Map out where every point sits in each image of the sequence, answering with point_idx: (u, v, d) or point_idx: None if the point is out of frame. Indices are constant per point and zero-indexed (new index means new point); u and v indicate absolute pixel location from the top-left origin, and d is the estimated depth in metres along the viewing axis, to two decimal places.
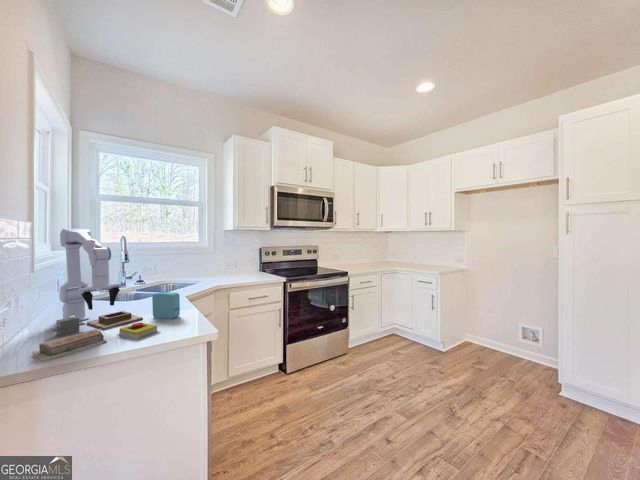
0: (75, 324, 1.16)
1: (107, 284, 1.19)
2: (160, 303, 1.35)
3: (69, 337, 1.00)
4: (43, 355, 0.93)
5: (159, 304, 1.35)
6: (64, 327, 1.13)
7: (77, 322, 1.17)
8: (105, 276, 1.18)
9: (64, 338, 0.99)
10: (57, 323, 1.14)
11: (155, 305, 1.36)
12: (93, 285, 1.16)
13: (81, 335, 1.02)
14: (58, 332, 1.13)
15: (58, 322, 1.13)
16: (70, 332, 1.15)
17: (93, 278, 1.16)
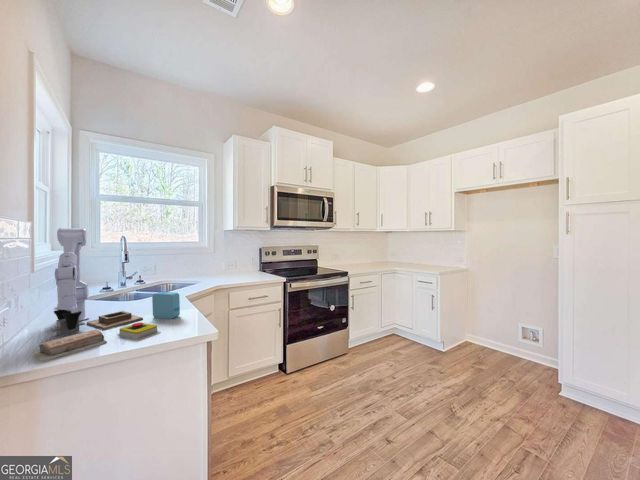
0: None
1: (61, 306, 1.13)
2: (160, 303, 1.35)
3: (69, 337, 1.00)
4: (43, 356, 0.93)
5: (159, 304, 1.35)
6: (64, 327, 1.13)
7: (77, 322, 1.17)
8: (59, 297, 1.13)
9: (64, 338, 0.99)
10: (57, 323, 1.14)
11: (155, 305, 1.36)
12: None
13: (81, 335, 1.02)
14: (58, 332, 1.13)
15: (58, 322, 1.13)
16: (70, 332, 1.15)
17: None
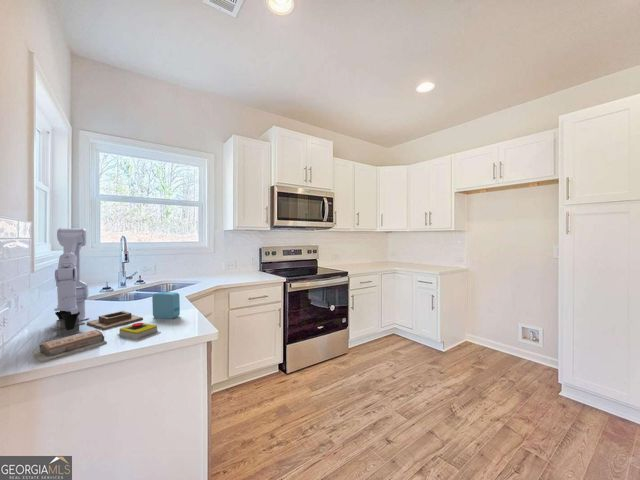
0: (75, 324, 1.16)
1: (61, 307, 1.13)
2: (160, 303, 1.35)
3: (69, 337, 1.00)
4: (42, 356, 0.92)
5: (159, 304, 1.35)
6: (64, 327, 1.13)
7: (77, 322, 1.17)
8: (59, 298, 1.13)
9: (64, 338, 0.99)
10: (57, 323, 1.14)
11: (155, 305, 1.36)
12: None
13: (81, 336, 1.02)
14: (58, 332, 1.13)
15: (58, 322, 1.13)
16: (70, 332, 1.15)
17: None
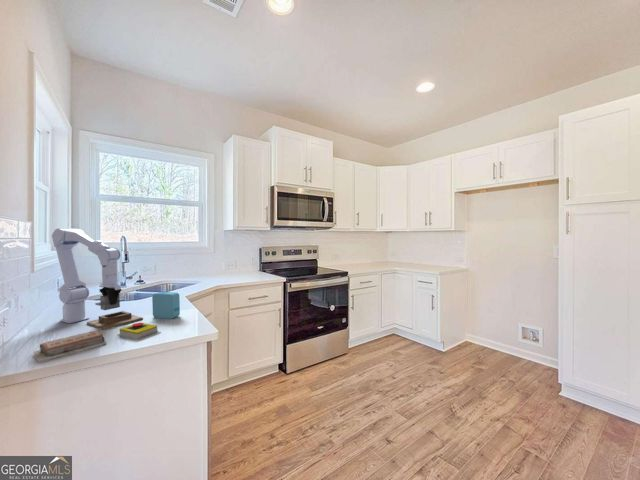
0: None
1: (105, 283, 1.25)
2: (160, 303, 1.35)
3: (69, 338, 0.99)
4: (41, 356, 0.92)
5: (159, 304, 1.35)
6: (107, 302, 1.26)
7: (118, 298, 1.29)
8: (103, 276, 1.25)
9: (64, 339, 0.98)
10: (101, 298, 1.26)
11: (155, 305, 1.36)
12: None
13: (81, 336, 1.01)
14: (102, 306, 1.26)
15: (102, 298, 1.25)
16: (112, 307, 1.27)
17: None
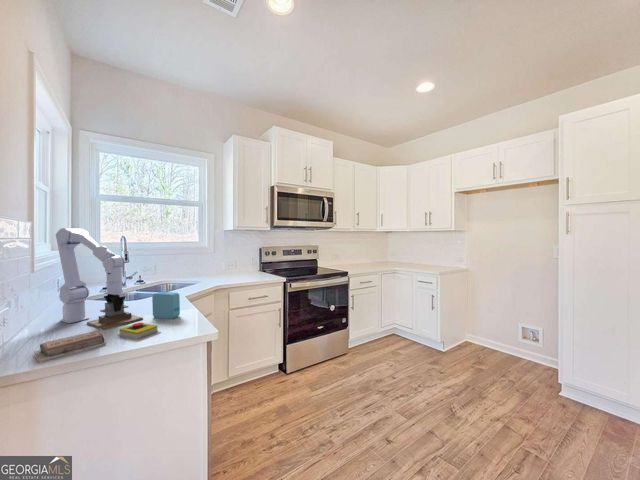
0: (121, 307, 1.30)
1: (110, 291, 1.27)
2: (160, 303, 1.35)
3: (69, 338, 0.99)
4: (41, 356, 0.92)
5: (159, 304, 1.35)
6: (112, 309, 1.27)
7: (122, 305, 1.31)
8: (108, 283, 1.27)
9: (64, 339, 0.98)
10: (106, 305, 1.28)
11: (155, 305, 1.36)
12: None
13: (81, 336, 1.01)
14: (107, 313, 1.27)
15: (107, 304, 1.27)
16: (117, 313, 1.29)
17: None
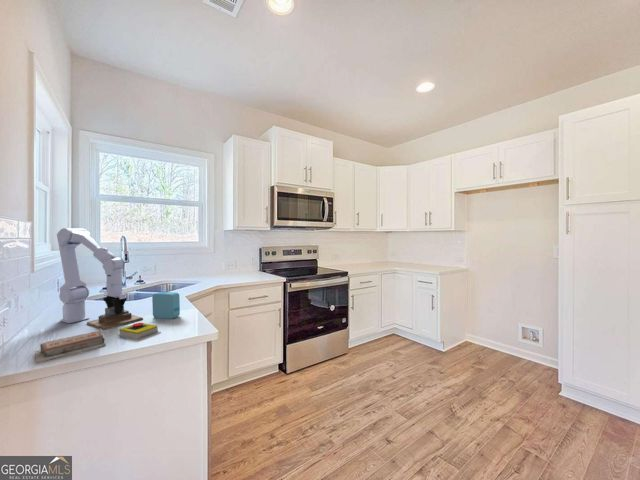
0: None
1: (110, 293, 1.27)
2: (160, 303, 1.35)
3: (69, 338, 0.99)
4: (40, 356, 0.92)
5: (159, 304, 1.35)
6: (112, 314, 1.27)
7: (122, 310, 1.31)
8: (108, 285, 1.27)
9: (64, 339, 0.98)
10: (106, 310, 1.28)
11: (155, 305, 1.36)
12: None
13: (81, 337, 1.00)
14: None
15: (107, 310, 1.27)
16: None
17: None
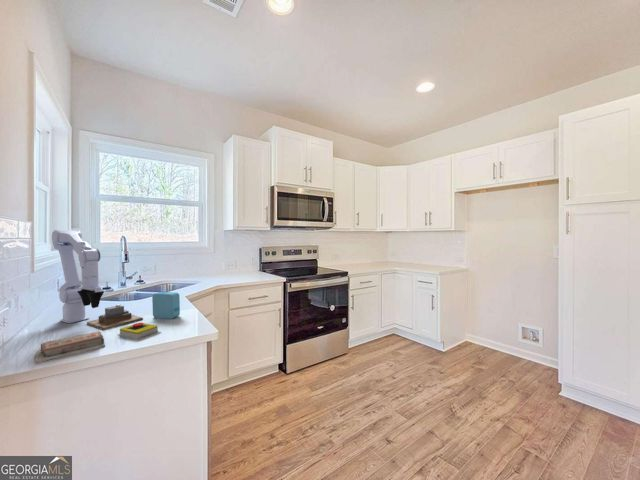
0: (121, 312, 1.30)
1: (85, 286, 1.21)
2: (160, 303, 1.35)
3: (69, 338, 0.99)
4: (40, 356, 0.92)
5: (159, 304, 1.35)
6: (112, 314, 1.27)
7: (122, 310, 1.31)
8: (83, 277, 1.21)
9: (64, 339, 0.98)
10: (106, 310, 1.28)
11: (155, 305, 1.36)
12: None
13: (81, 337, 1.00)
14: None
15: (107, 310, 1.27)
16: None
17: None
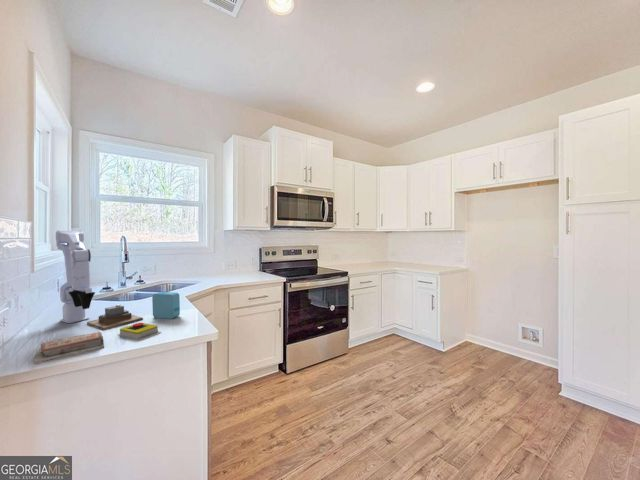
0: (121, 312, 1.30)
1: (76, 286, 1.19)
2: (160, 303, 1.35)
3: (69, 339, 0.98)
4: (39, 356, 0.92)
5: (159, 304, 1.35)
6: (112, 314, 1.27)
7: (122, 310, 1.31)
8: (74, 278, 1.19)
9: (64, 339, 0.98)
10: (106, 310, 1.28)
11: (155, 305, 1.36)
12: None
13: (81, 338, 1.00)
14: None
15: (107, 310, 1.27)
16: None
17: None
